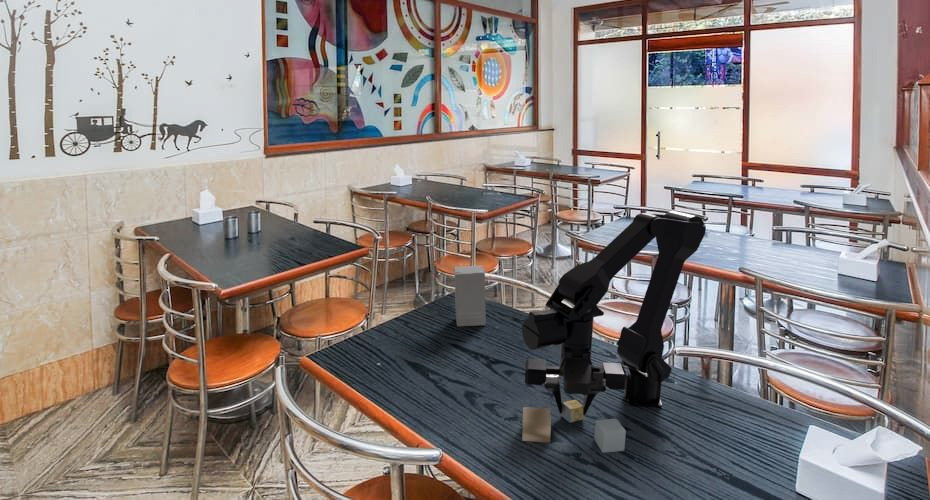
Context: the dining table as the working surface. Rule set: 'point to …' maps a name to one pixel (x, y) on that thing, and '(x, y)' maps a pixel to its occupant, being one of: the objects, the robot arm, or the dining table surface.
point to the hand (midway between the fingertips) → (572, 413)
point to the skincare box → (470, 295)
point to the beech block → (536, 424)
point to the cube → (609, 435)
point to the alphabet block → (572, 411)
